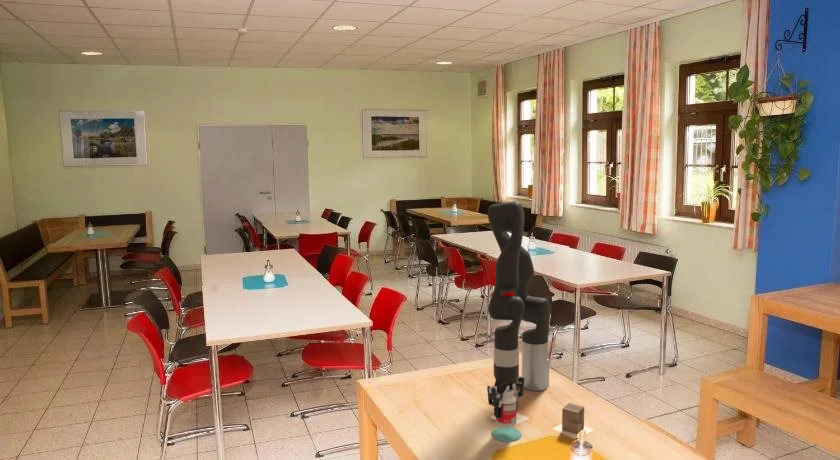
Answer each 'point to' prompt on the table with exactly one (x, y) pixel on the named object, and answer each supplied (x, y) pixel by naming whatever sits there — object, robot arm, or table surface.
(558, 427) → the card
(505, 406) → the pill bottle
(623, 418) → the table surface
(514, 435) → the coaster
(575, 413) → the walnut block
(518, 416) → the card
